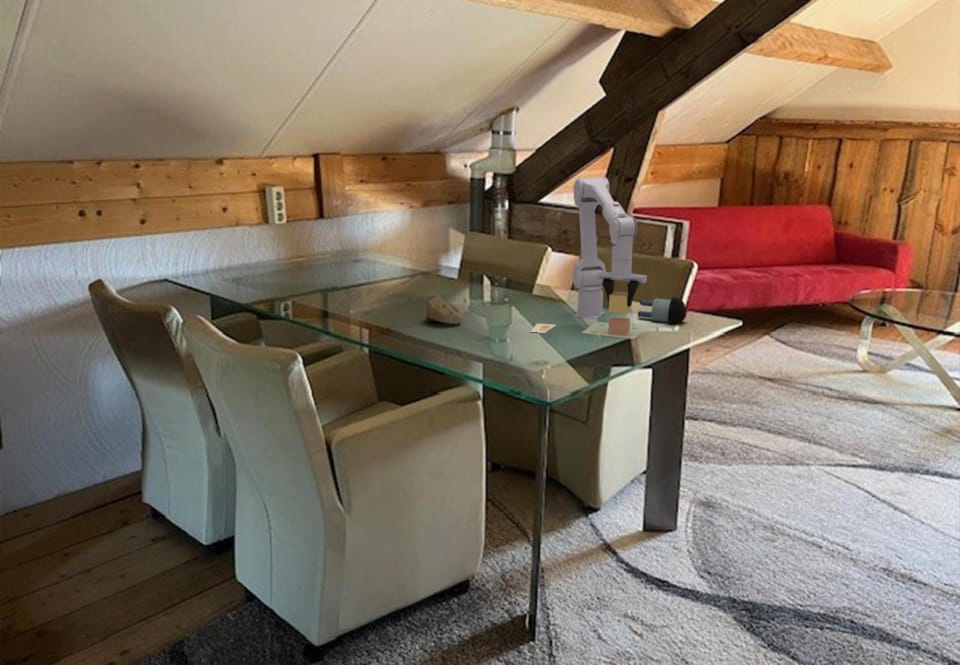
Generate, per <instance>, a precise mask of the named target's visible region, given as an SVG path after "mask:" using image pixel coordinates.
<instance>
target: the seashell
mask: <svg viewBox="0 0 960 665" xmlns="http://www.w3.org/2000/svg"><path fill="white" fill-rule="evenodd" d="M426 302H427V305H426V306H425V309H426V313H427V314H426V317H425V323H427V322H428V321H434V322H436V321H438V322H440V323H443V324H447V323H449V324H448V325H452V324H456V325H457V324H458V323H459V324H461V322H462V319H463V318H464V317H463V314H462V313H461V311H460V309H459V308H458V307H457V306H456V305H455V304H453V302H452V301H451V300H450V301H448V302H447V301H446V300H444V299H443V298H442V296H441V295H439V293H435V297H433V298H432V299H431V300H429V299H428V300H427V301H426ZM459 324H458V325H459Z"/></svg>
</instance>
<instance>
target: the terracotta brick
mask: <svg viewBox="0 0 960 665" xmlns="http://www.w3.org/2000/svg"><path fill="white" fill-rule="evenodd" d="M608 323H609V329H608V333H609V334H617V335H626V334H627V333H628V332H629V331H630V325H631V317H622V316H621V317H620V316H613V317H611V318H610V319H609V320H608Z"/></svg>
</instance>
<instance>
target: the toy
mask: <svg viewBox="0 0 960 665" xmlns="http://www.w3.org/2000/svg"><path fill="white" fill-rule="evenodd" d="M639 305H640V306H643V307H651V311H643V310H639V311H638V313H637V316H638V318H648V319H652V322H660V323H667V324H668V325H677V324H679V323H682V322H683V321H684V320H685V319H686V316H687V308H686V304H685V302H684V301H683V300H682V299H681V298H679V297H677V296H673V297H672V298H671V299H666V298H664V299H663V298H658V297H657V298H654V300H643V299H642V300H640V301H639Z"/></svg>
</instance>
